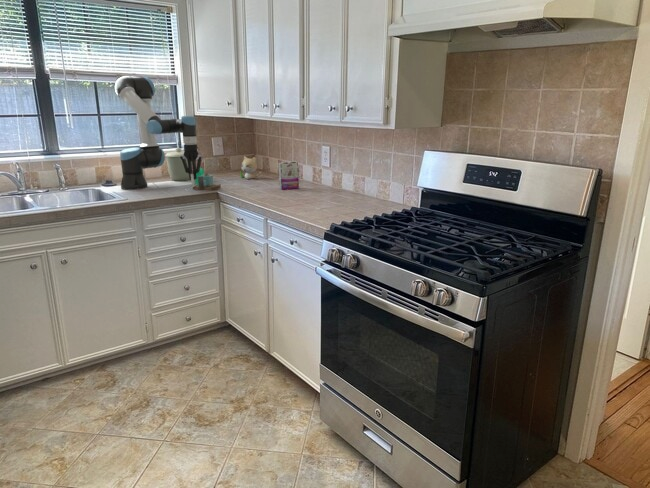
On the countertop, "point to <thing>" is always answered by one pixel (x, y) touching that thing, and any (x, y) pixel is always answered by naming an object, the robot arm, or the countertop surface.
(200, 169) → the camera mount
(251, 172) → the cream rounded figure
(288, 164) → the candy bar box
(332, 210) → the countertop surface
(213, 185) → the post block
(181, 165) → the canister
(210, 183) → the teal stepped block
